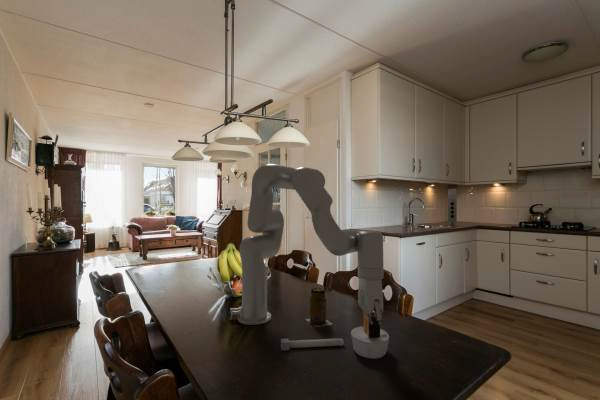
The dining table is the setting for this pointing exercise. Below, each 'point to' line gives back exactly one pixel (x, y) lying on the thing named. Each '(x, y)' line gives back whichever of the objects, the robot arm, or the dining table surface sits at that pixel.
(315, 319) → the condiment
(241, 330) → the dining table surface
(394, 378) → the dining table surface
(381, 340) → the ramekin
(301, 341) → the long grey bar
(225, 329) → the dining table surface
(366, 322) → the tan wooden block
